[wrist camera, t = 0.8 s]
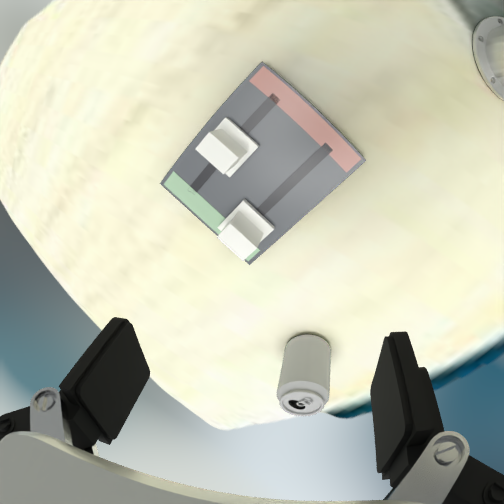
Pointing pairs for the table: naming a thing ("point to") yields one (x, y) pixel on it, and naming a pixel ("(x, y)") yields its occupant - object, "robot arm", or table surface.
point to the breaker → (244, 230)
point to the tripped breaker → (227, 147)
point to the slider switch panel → (266, 159)
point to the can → (305, 376)
